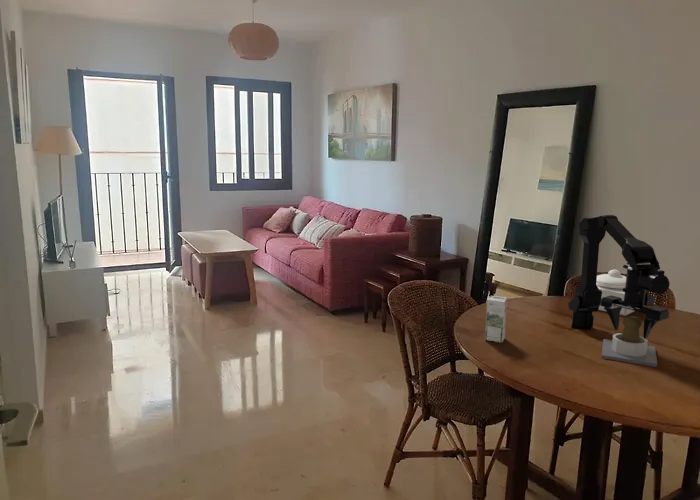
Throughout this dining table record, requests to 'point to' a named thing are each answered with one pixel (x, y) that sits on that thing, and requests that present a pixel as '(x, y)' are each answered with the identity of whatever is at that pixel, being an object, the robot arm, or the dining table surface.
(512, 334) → the dining table surface
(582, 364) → the dining table surface
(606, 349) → the cup stand
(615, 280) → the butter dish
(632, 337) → the cork
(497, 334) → the syrup box
